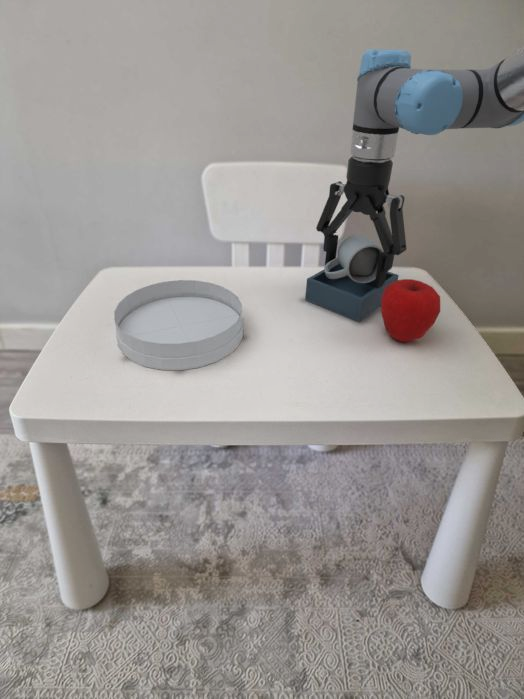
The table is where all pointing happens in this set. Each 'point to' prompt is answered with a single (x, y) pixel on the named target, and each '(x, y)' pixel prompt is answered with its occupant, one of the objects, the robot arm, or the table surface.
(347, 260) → the ceramic mug
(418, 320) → the apple
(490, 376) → the table surface
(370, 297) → the tub
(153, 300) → the dish
